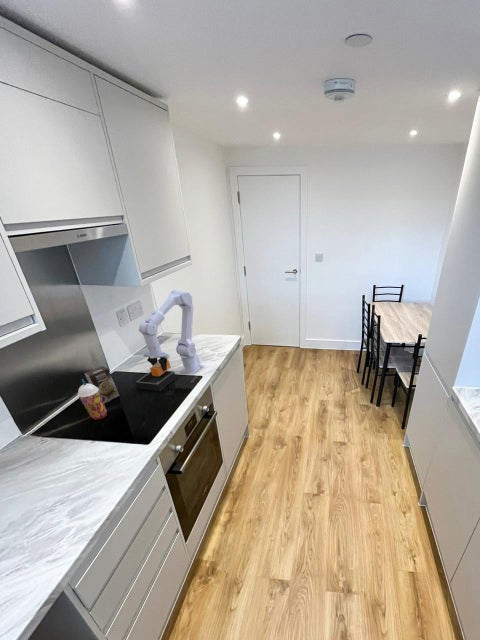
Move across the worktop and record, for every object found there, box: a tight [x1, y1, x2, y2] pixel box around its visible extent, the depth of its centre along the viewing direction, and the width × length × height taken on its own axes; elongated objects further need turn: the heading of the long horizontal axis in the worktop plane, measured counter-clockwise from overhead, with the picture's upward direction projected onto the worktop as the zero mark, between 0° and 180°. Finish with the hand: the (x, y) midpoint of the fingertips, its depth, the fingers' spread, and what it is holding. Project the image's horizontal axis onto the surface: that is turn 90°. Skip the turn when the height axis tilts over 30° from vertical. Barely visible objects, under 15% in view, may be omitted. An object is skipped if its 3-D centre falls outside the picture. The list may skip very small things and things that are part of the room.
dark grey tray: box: [135, 370, 177, 392], centre depth 174 cm, size 15×14×4 cm
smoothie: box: [77, 378, 108, 421], centre depth 146 cm, size 8×8×20 cm
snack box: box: [149, 359, 172, 376], centre depth 169 cm, size 10×4×4 cm, turn 164°
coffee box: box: [84, 365, 120, 405], centre depth 160 cm, size 9×6×16 cm
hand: (161, 369), depth 169 cm, fingers closed on snack box, 4 cm apart
